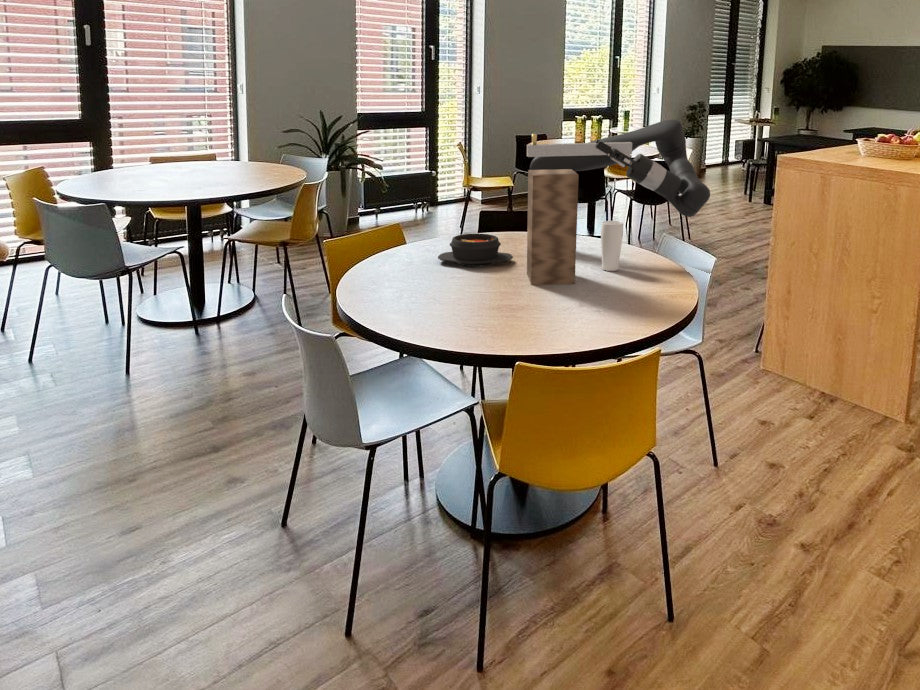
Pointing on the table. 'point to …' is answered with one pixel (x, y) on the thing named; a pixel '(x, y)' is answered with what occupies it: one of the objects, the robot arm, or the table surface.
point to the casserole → (475, 250)
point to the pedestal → (552, 226)
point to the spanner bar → (572, 148)
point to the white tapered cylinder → (611, 244)
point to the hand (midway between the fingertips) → (596, 143)
